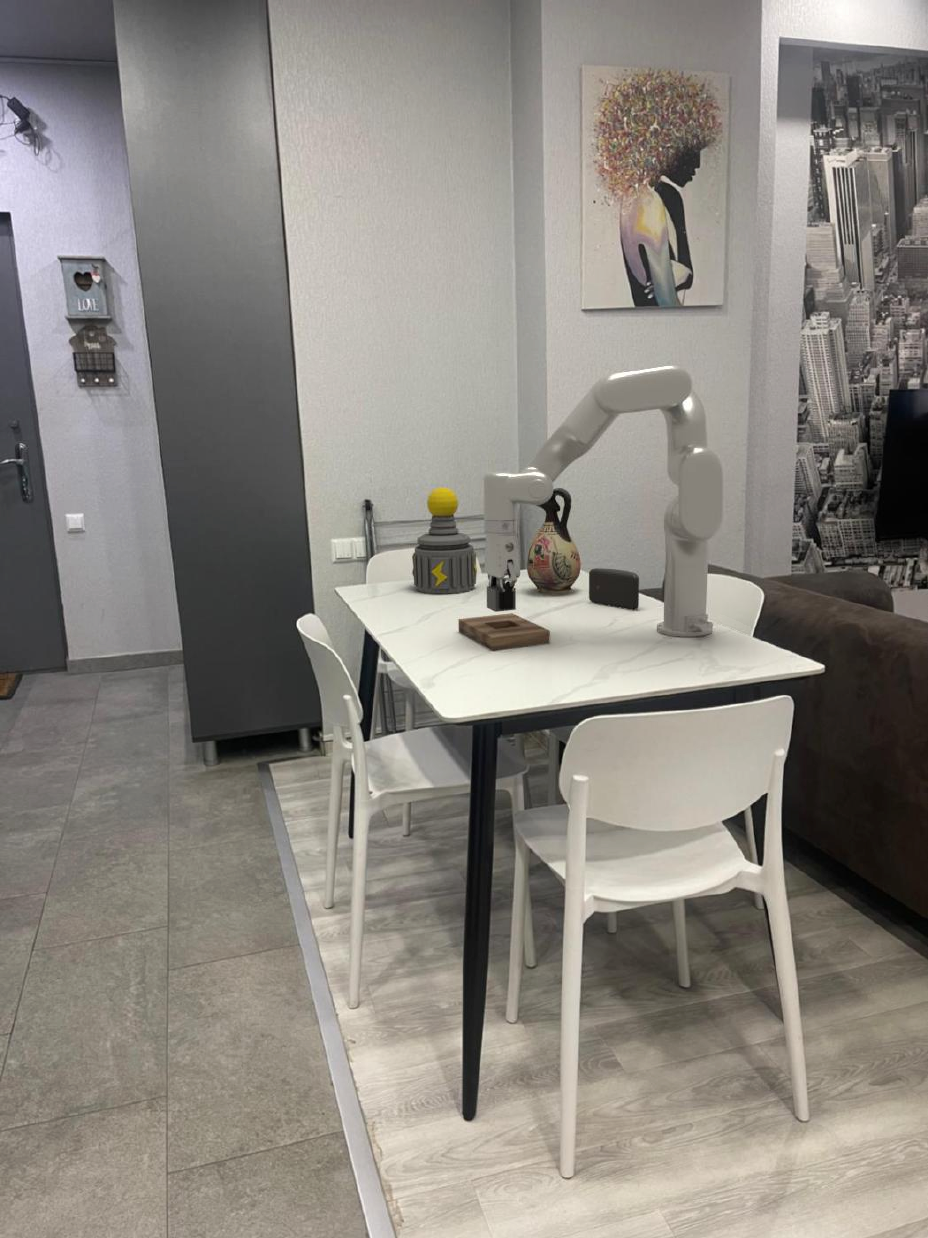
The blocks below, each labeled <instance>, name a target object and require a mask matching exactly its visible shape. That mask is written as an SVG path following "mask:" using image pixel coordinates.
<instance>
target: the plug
mask: <svg viewBox="0 0 928 1238" xmlns="http://www.w3.org/2000/svg"><path fill="white" fill-rule="evenodd" d="M504 584H506V581H504ZM499 592H501V586H500V579H499V578H497V585H496V586H489V585H487V586H486V608H487V609H489V610H491V611H493V612H496V613H498V612H508V611H515V610H517V608H516V606H517V605H516V597H517V595H516V594H517V593H516V592H517V591H516V587H514V591H513V608H512V609H503V610H501V609H500V603H499Z"/></svg>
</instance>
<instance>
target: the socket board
mask: <svg viewBox="0 0 928 1238" xmlns="http://www.w3.org/2000/svg"><path fill="white" fill-rule="evenodd" d="M458 632H459V633H461V634H462V635H465V636H466V637H467V638H470V639H471V640H473V641H474V642H476V643H478V644H480V645H482V646H483V647H485V648H487V649H488V650H490V651H492V652H493V651H502V650H509V649H516V648H524V647H533V646H541V645H547V644H550V643H551V642H550V639H551V638H550V633H551V632H550V629H548V628H546V627H543V626H542V625H541V626H540V625H539V624H536V623H534V622H532V621H530V620H528V619H526V618H524V617H522V616H519V615H517V614H514V612H513V613H512V612H510V613H500V614H493V615H485V616H484V615H483V616H482V615H481V616H475V617H466V618H458Z"/></svg>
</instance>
